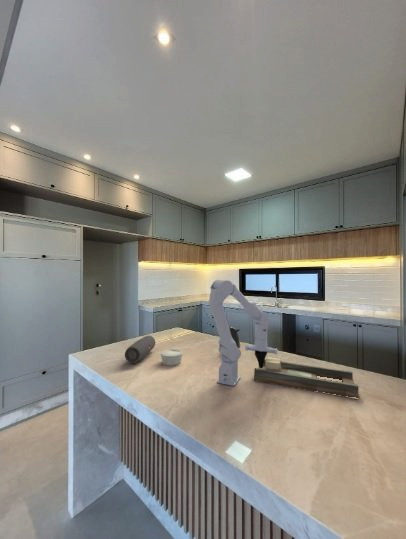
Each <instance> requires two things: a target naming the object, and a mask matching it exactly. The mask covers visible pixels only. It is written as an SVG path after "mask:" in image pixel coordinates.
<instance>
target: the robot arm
mask: <svg viewBox="0 0 406 539" xmlns="http://www.w3.org/2000/svg"><path fill="white" fill-rule="evenodd" d="M229 296H231V297H233V299H234V300H236V301H237V302H238V303H239V304H240V305H241V306H242V307H243V308H242V309H243V311H244V312H245V314H247V315H248V316H249V317H250V318H251V321H252V322H253V323H254V345H251V344H250V345H249V344H246V345H245V347H244V348H245V349H244V350H245V351H253V352H254V356H255V358H256V360H257V363H258V368H263V363H264V360H265V359H266V357H267V355H268V354H274V355H278V348H273V347H270V346H268V328H269V325H270V322H271V319H270V316H269V314H267V313H265V312H264V311H263V309H262V308H259V306H258V305H257V303H256V302H255V301H251V300H248V298H246V296H245V295H243V293H242V292H241V291H240V290H239V288H238V287H237V286H236V285H235V284H234V283H233V282H232V281H231V280H229V279H224V280H223V279H216V280H214V281H213V282H212V284H211V285H210V292H209V300H208V302H209V306H210V310H211V314H212V316H213V319H214V320H213V321H214V324H215V327H216V330H217V333H218V338H219V340H218V352H219V353H220V356H221V358H220V359H221V361H220V366H219V367H218V379H217V381H216V383H218V384H223V385H227V386H232V387H235V386H236V385H237V383H238V382H239V381H240V379H241V376H240V375H239V374H238V373H239V371H238V369H239V365H238V364H239V363H238V362H239V359H240V358H241V354H242V351H241V349H240V348H238V347H237V345H236V342H235V341H234V340H233V338H232V336H231V332H230V329H229V327H230V326H229V322H228V318H227V316H226V313H225V309H224V306H223V303H224V302H225V300H227V298H228V297H229Z"/></svg>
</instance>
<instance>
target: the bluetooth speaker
mask: <svg viewBox="0 0 406 539" xmlns="http://www.w3.org/2000/svg"><path fill="white" fill-rule="evenodd" d="M156 343H157V342H156V339H155V338H154V336H152V335H145V336H143V337H142V338H140V339H138V340H136V341H135V342H134V343H132V344H131V345H130V346H128V347H127V348H126V350H125V351H124V358H125V361H127V362H128V363H131V364H136V363H137V362H140V361H142V360H144V359H145V357H147V355H148V354H149V353H150V352H152V350H154V348H155V346H156Z"/></svg>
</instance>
